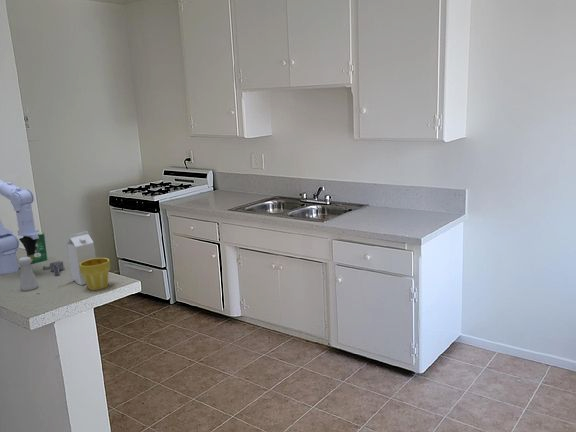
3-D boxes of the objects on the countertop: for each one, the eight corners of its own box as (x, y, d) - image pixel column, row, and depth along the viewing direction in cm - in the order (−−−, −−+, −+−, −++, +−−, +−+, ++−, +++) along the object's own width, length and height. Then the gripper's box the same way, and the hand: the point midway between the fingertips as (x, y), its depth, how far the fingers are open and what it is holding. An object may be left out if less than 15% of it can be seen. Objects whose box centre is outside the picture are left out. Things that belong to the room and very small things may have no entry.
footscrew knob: (51, 269, 219) (49, 260, 218) (64, 267, 221) (62, 258, 220) (50, 276, 209) (48, 267, 208) (63, 274, 211) (62, 265, 210)
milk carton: (72, 282, 205) (65, 233, 201) (90, 277, 210) (83, 230, 206) (81, 285, 200) (74, 236, 196) (99, 280, 205) (92, 232, 201)
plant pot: (92, 294, 189) (88, 267, 187) (77, 288, 196) (73, 263, 194) (118, 285, 197) (114, 259, 195) (103, 281, 204) (99, 256, 202)
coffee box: (48, 260, 238) (44, 232, 236) (48, 262, 236) (43, 233, 233) (28, 263, 236) (24, 234, 233) (28, 265, 233) (23, 236, 230)
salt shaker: (41, 288, 199) (36, 254, 197) (34, 293, 194) (29, 259, 191) (25, 289, 199) (19, 256, 196) (18, 295, 193) (12, 260, 191)
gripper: (44, 220, 208) (49, 254, 210) (28, 217, 217) (33, 249, 220) (25, 224, 202) (31, 259, 205) (10, 220, 212) (15, 254, 215)
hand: (31, 254), depth 212 cm, fingers closed
